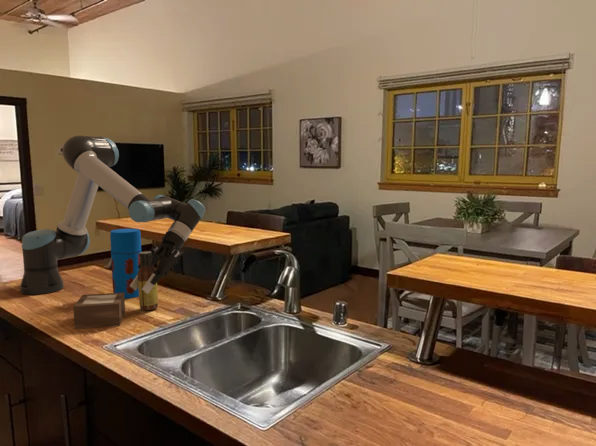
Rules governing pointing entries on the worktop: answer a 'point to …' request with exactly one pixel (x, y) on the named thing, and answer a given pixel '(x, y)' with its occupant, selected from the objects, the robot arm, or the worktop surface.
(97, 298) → the block
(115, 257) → the thermos
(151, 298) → the sauce bottle
